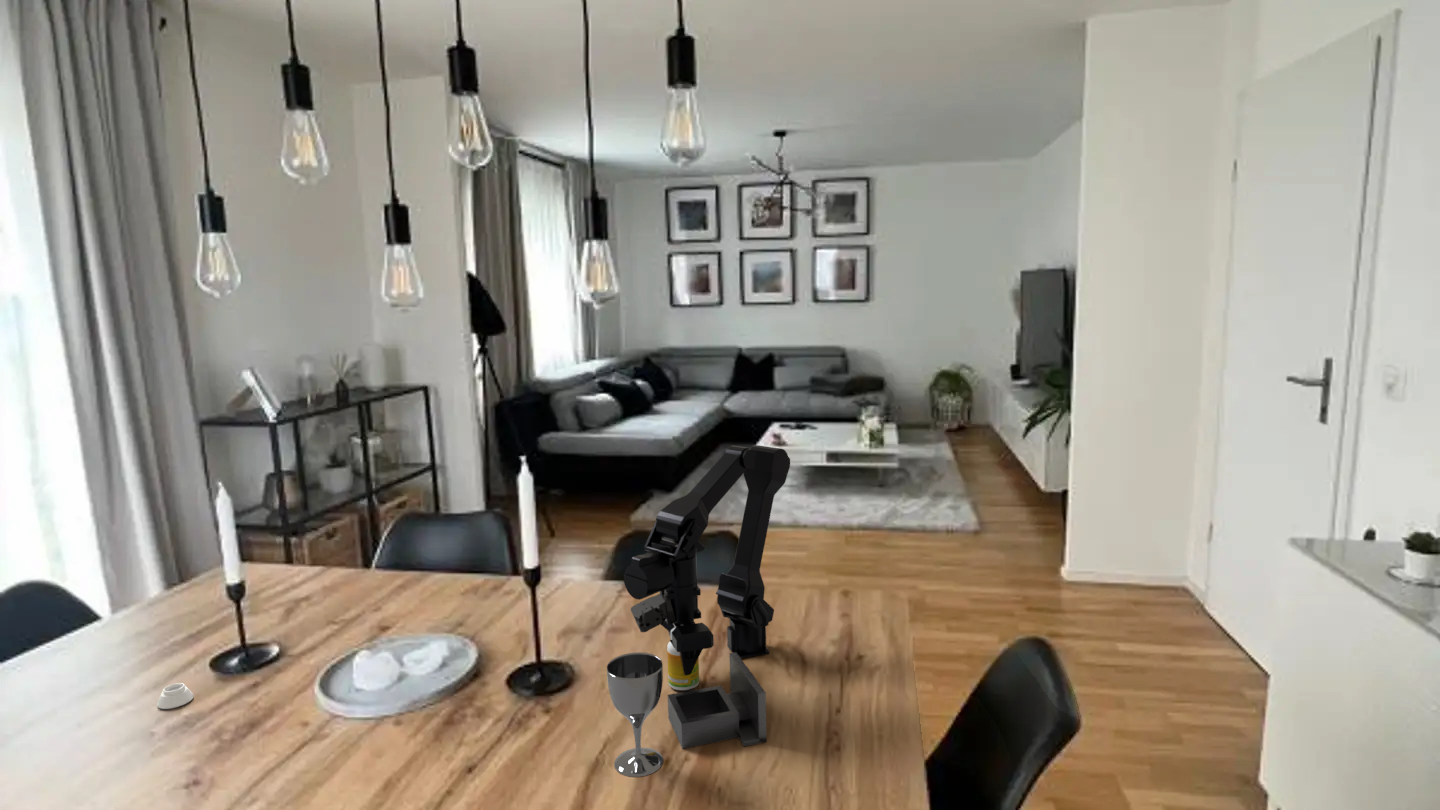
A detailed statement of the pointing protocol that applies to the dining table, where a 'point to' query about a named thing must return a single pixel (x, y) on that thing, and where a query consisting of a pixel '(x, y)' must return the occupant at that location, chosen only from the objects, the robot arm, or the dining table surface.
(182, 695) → the white upside-down bowl
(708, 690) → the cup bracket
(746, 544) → the robot arm
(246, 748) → the dining table surface
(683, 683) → the supplement bottle
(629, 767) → the wine glass
